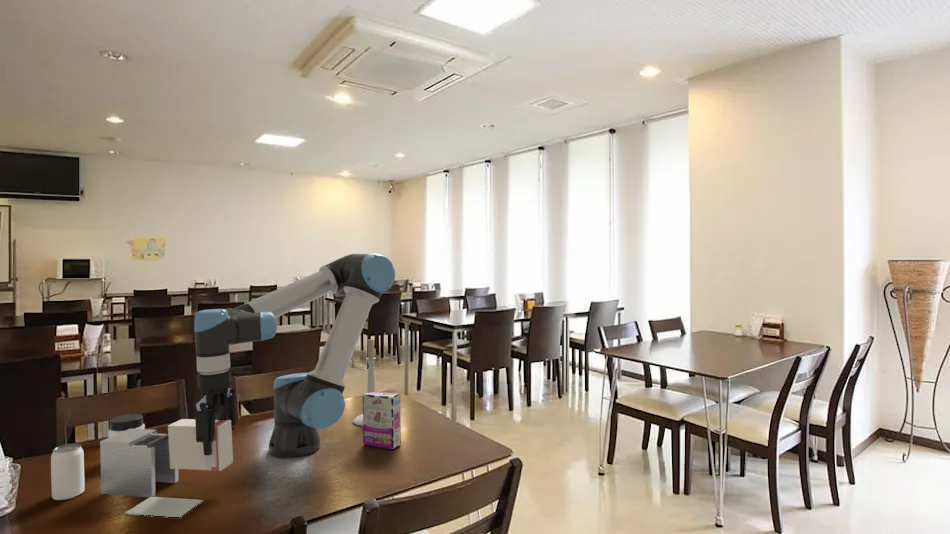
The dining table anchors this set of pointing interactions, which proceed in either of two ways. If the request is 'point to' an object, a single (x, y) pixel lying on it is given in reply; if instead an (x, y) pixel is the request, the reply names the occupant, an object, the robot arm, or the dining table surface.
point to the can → (67, 471)
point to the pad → (164, 507)
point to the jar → (125, 423)
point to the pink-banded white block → (198, 445)
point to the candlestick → (371, 380)
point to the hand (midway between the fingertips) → (218, 461)
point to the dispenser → (135, 463)
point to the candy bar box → (381, 420)
